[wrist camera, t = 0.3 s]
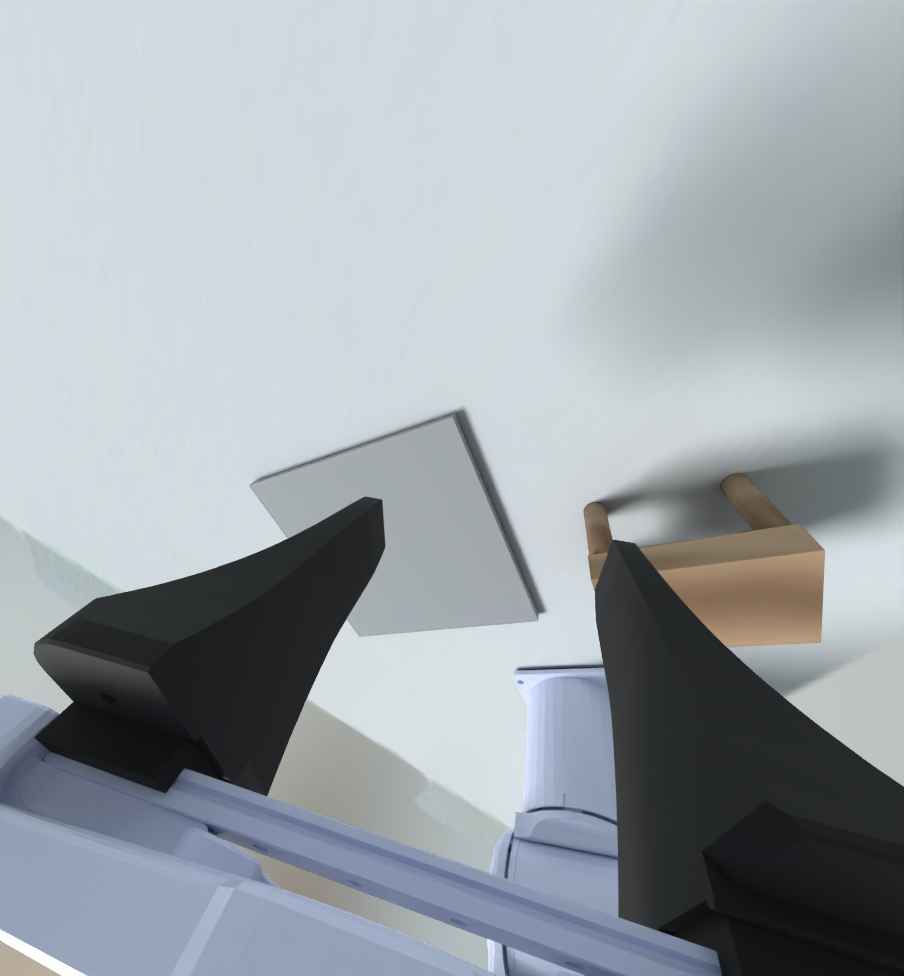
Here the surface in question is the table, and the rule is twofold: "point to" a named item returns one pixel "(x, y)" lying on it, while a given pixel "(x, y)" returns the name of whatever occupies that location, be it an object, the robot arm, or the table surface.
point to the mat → (414, 530)
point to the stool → (737, 572)
